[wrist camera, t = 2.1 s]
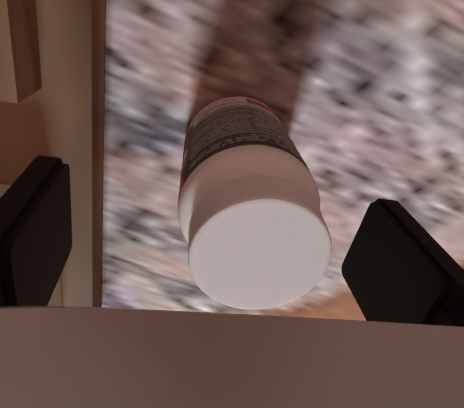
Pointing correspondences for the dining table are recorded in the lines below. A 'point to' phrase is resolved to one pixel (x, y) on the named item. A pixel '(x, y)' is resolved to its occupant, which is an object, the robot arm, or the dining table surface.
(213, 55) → the dining table surface
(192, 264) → the pill bottle
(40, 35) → the housing
